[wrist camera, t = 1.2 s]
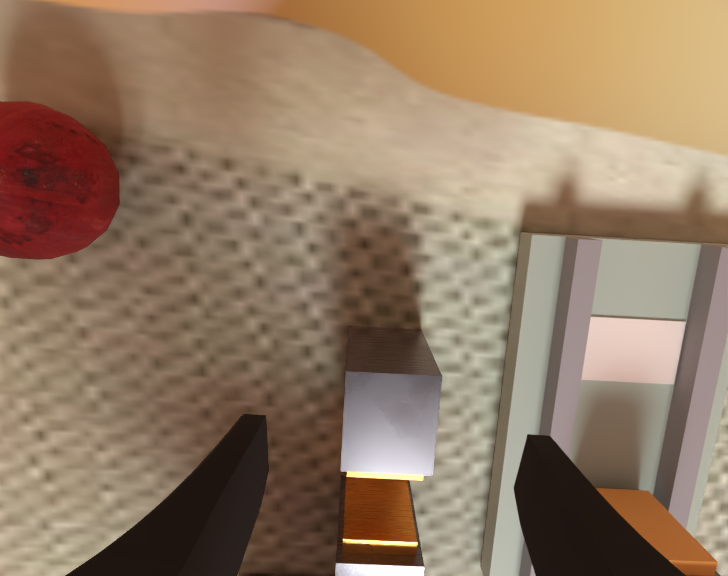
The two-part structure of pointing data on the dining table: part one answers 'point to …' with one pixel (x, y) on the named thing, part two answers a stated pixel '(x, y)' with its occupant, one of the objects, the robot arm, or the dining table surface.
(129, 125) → the dining table surface
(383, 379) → the brushed grey cube
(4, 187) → the onion
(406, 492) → the block
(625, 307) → the rail
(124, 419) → the dining table surface
